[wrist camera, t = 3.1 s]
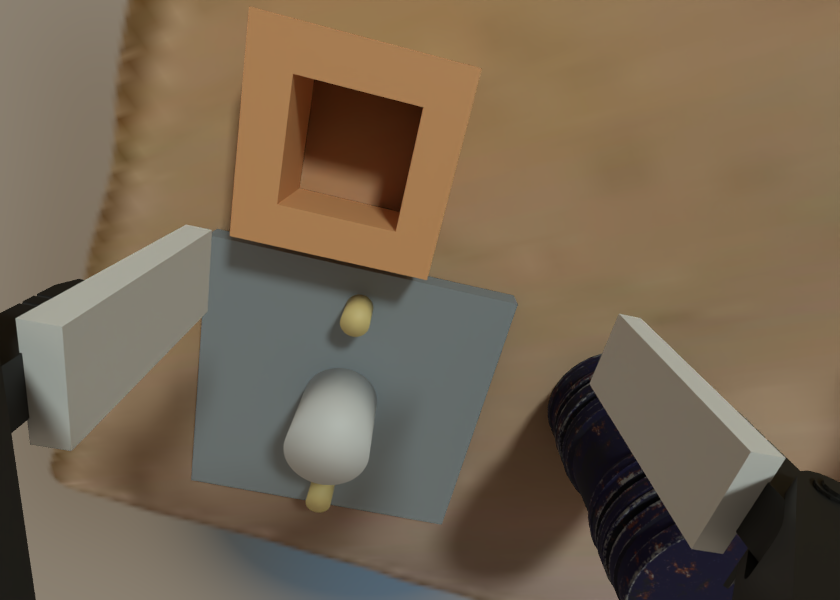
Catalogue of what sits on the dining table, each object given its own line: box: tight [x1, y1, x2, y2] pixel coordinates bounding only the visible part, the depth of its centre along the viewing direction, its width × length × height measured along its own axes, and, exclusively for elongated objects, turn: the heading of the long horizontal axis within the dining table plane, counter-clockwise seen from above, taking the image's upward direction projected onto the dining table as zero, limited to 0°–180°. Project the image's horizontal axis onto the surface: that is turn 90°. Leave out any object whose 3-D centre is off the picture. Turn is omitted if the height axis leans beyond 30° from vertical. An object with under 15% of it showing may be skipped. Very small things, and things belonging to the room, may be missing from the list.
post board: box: [191, 229, 518, 524], centre depth 32 cm, size 20×20×7 cm
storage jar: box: [548, 354, 748, 600], centre depth 29 cm, size 10×10×15 cm
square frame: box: [230, 6, 482, 280], centre depth 26 cm, size 11×11×5 cm
